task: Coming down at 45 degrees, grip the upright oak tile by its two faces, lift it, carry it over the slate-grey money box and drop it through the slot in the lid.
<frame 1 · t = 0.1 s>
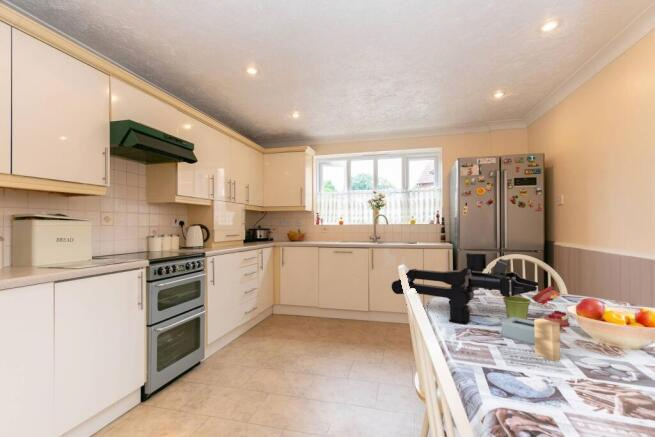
hand: (537, 286, 103), 17 cm above the table, tool horizontal, fingers open, 9 cm apart
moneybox: (525, 338, 100), on the table
tile: (547, 356, 86), on the table
plant pot: (516, 321, 117), on the table
anatomical model: (552, 323, 115), on the table
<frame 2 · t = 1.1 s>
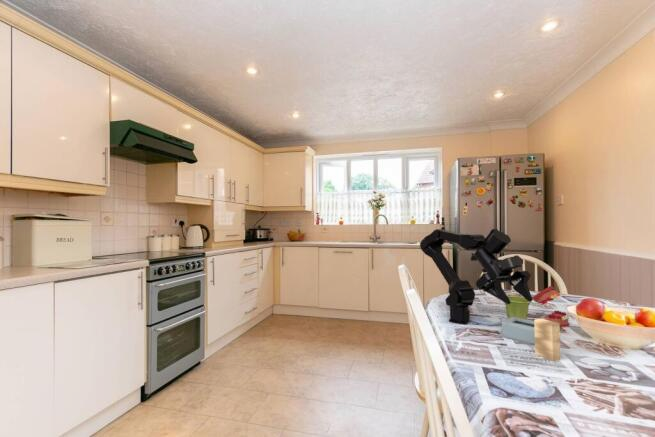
hand: (520, 302, 93), 14 cm above the table, tool tilted 45°, fingers open, 9 cm apart
nothing on the table moved.
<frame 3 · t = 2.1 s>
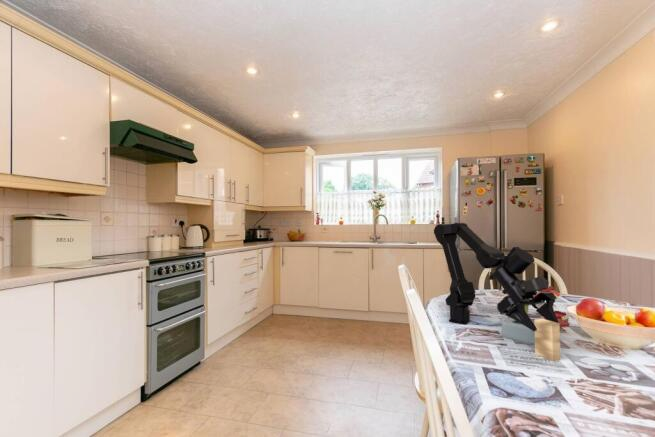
hand: (547, 328, 86), 8 cm above the table, tool tilted 45°, fingers open, 9 cm apart
nothing on the table moved.
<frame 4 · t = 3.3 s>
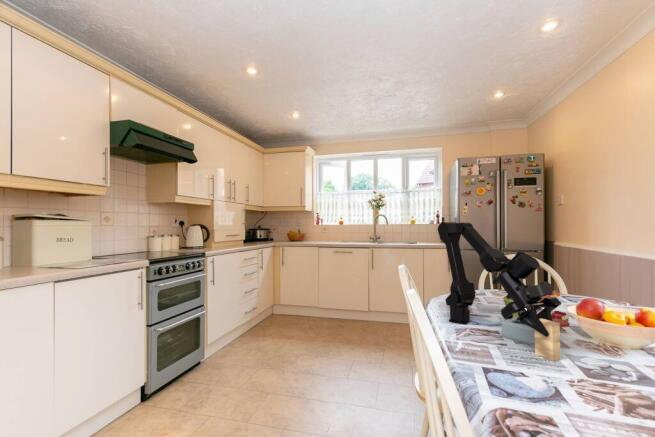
hand: (552, 335, 84), 7 cm above the table, tool tilted 45°, fingers closed on tile, 3 cm apart
tile: (547, 356, 85), on the table, touching gripper
everything else where it was.
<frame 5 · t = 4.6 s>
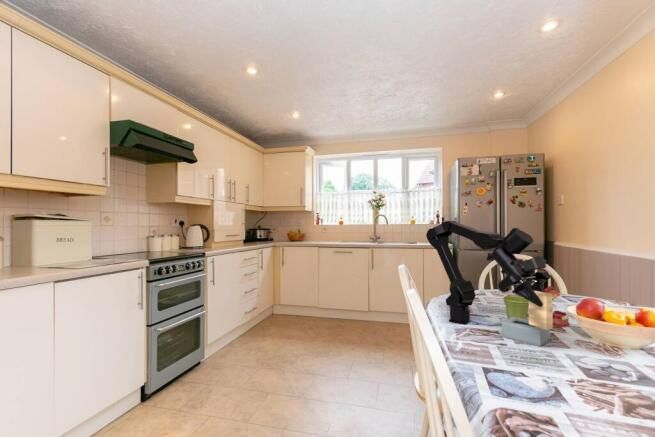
hand: (545, 305, 89), 14 cm above the table, tool tilted 45°, fingers closed on tile, 3 cm apart
tile: (540, 326, 90), point 7 cm above the table, touching gripper
everything else where it was.
when the fingers open (12 cm above the table, at t = 5.9 s): tile drops 5 cm, resting on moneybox.
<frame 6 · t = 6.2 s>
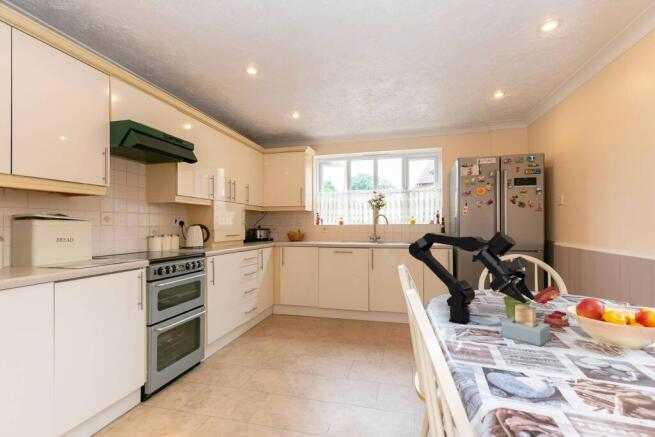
hand: (529, 300, 99), 13 cm above the table, tool tilted 45°, fingers open, 7 cm apart
tile: (525, 336, 99), point 1 cm above the table, touching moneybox
everything else where it was.
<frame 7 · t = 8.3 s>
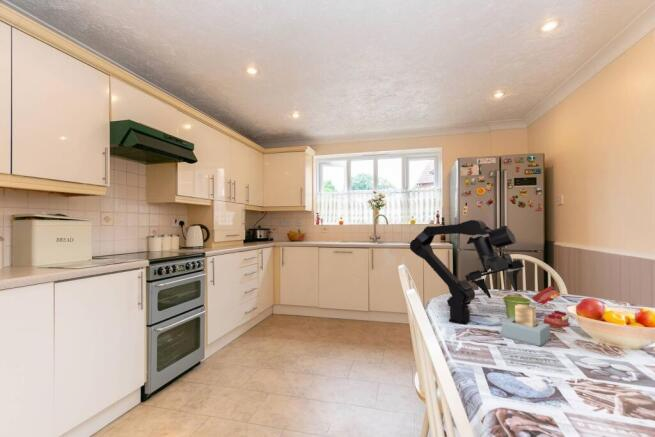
hand: (503, 294, 106), 13 cm above the table, tool tilted 20°, fingers open, 9 cm apart
nothing on the table moved.
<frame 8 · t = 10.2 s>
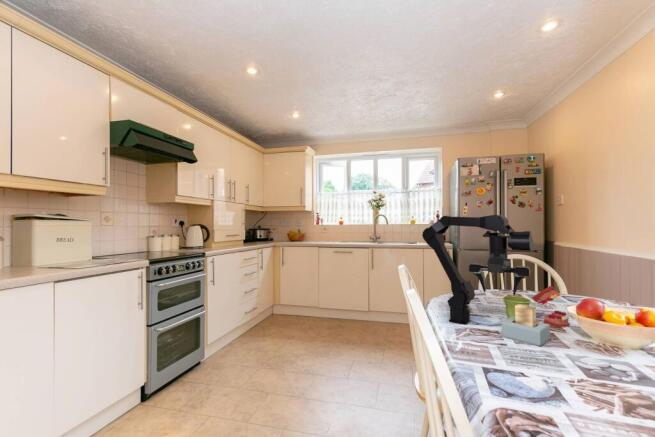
hand: (499, 293, 108), 13 cm above the table, tool pointing down, fingers open, 9 cm apart
nothing on the table moved.
at the end: tile inside the target area on the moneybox (0.1 cm from its centre), point 0.5 cm above the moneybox's base; the gripper is holding nothing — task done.
